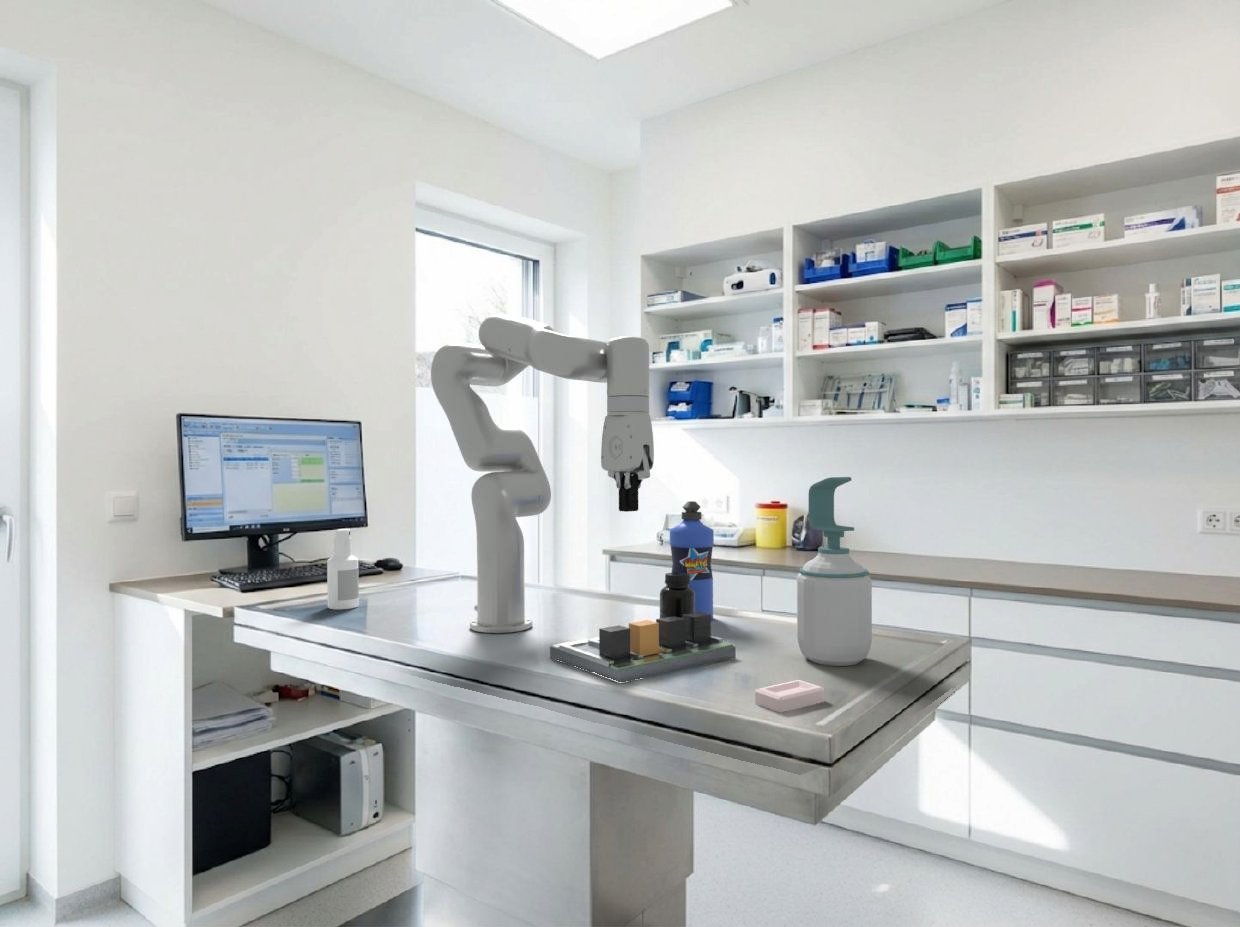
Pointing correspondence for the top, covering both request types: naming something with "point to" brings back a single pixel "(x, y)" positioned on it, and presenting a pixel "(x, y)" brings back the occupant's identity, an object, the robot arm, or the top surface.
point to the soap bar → (789, 695)
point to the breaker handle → (644, 637)
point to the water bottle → (694, 555)
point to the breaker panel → (678, 650)
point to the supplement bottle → (677, 596)
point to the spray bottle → (342, 574)
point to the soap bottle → (833, 591)
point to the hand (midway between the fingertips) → (628, 510)
